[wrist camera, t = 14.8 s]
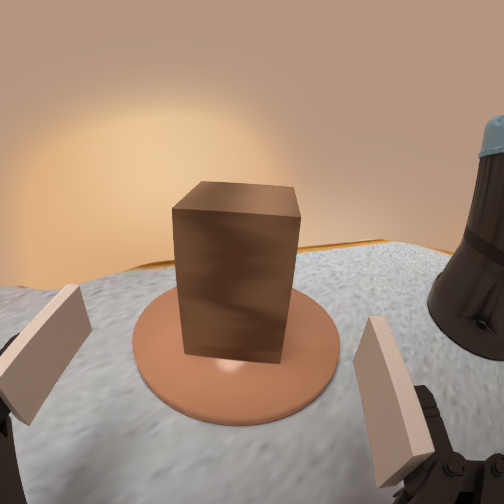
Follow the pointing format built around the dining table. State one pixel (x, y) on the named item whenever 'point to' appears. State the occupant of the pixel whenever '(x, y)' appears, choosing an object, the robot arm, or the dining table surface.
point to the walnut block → (235, 269)
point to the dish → (236, 366)
